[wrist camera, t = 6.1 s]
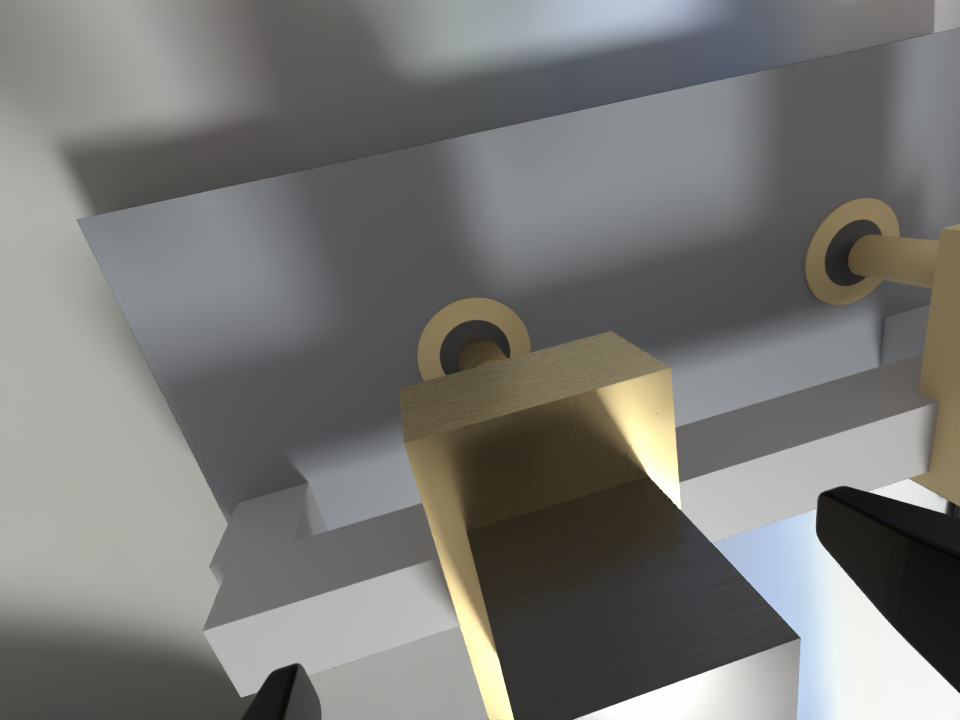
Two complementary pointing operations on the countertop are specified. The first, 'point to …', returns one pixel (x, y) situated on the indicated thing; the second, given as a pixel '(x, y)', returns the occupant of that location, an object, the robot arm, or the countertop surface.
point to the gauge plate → (557, 320)
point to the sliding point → (585, 543)
